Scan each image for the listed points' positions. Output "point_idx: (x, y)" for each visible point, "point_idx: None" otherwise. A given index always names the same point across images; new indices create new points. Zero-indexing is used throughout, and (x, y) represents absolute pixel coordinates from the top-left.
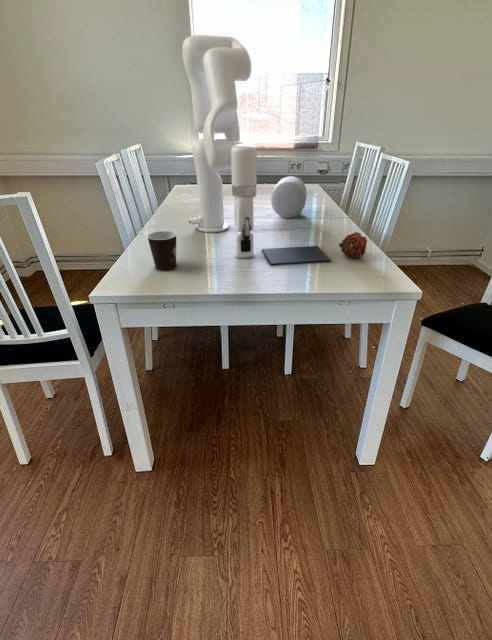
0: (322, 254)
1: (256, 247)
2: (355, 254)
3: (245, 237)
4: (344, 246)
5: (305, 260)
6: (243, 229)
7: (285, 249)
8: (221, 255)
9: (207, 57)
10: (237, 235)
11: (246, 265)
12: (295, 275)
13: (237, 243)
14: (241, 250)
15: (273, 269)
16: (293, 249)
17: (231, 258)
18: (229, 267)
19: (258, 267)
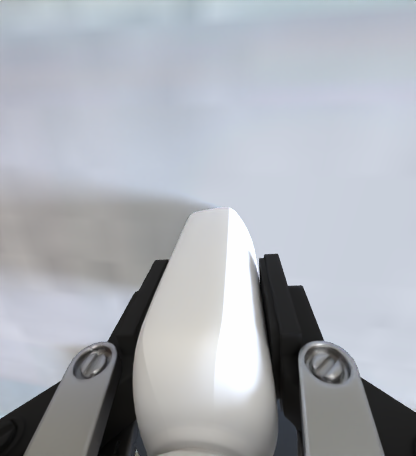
0: None
1: (382, 330)
2: None
3: (42, 414)
4: None
5: (146, 452)
6: None
7: (282, 432)
8: (267, 78)
9: None
10: (142, 346)
11: (79, 252)
12: (19, 398)
13: (164, 271)
14: (152, 267)
15: (56, 351)
16: (277, 451)
17: (192, 167)
18: (23, 149)
19: (64, 302)
